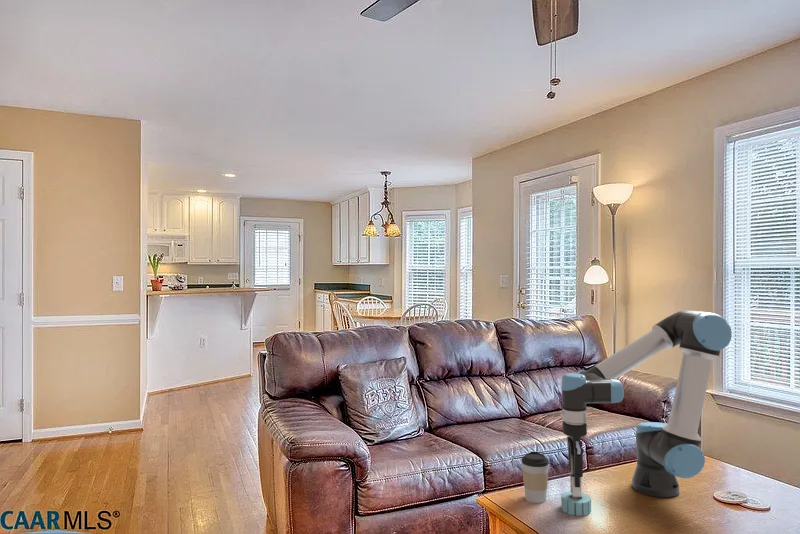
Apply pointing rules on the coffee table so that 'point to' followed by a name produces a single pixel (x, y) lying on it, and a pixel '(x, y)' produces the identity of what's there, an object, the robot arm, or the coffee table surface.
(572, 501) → the bead
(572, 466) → the tan cylindrical rod
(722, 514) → the coffee table surface
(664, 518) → the coffee table surface
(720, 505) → the coffee table surface
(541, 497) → the coffee cup
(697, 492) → the coffee table surface
